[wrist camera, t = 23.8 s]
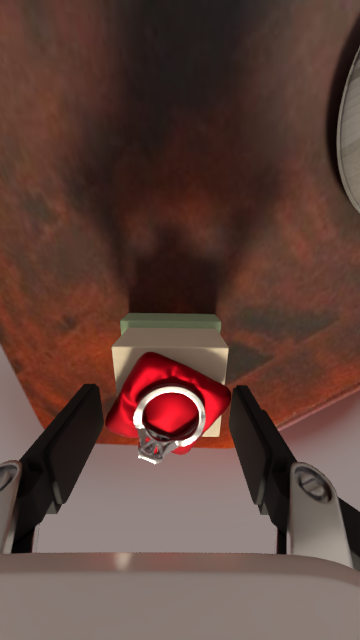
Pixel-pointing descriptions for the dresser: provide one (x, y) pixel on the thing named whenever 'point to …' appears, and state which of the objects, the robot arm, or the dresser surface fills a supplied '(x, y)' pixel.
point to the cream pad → (173, 353)
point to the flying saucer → (350, 134)
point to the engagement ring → (166, 406)
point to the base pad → (169, 321)
